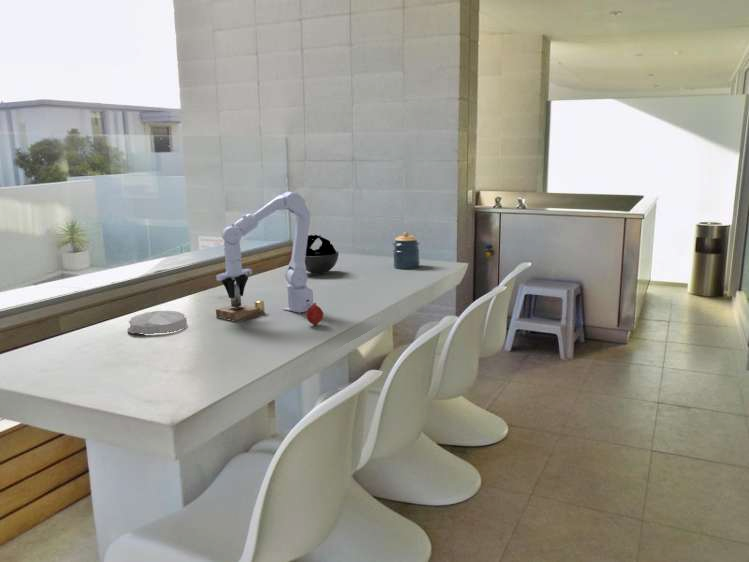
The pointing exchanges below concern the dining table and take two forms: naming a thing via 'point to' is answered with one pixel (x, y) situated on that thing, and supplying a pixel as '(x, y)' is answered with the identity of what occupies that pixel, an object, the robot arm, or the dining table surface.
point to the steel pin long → (236, 296)
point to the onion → (314, 314)
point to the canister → (406, 252)
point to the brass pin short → (260, 306)
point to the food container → (157, 322)
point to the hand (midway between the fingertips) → (236, 296)
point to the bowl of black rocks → (320, 256)
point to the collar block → (237, 312)
